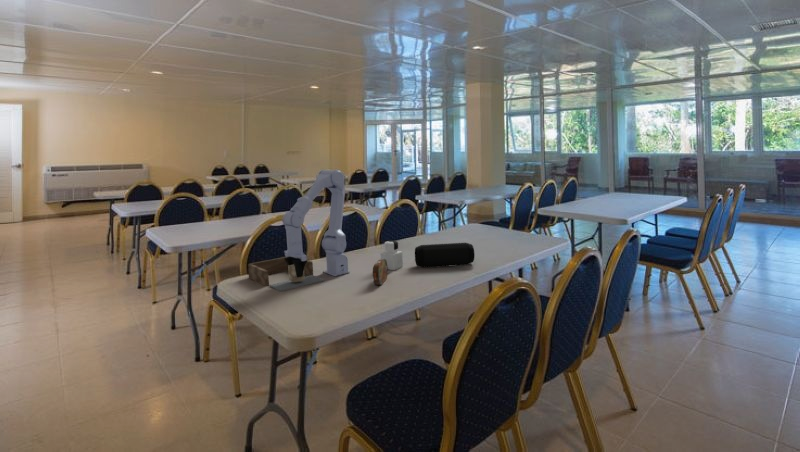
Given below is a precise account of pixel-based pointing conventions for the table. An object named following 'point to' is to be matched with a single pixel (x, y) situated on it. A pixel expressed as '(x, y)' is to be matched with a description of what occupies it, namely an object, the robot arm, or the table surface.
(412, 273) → the table surface
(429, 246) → the portable speaker
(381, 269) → the tin
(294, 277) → the block
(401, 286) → the table surface
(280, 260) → the wooden u-shaped frame
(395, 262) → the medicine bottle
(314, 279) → the mat
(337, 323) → the table surface
